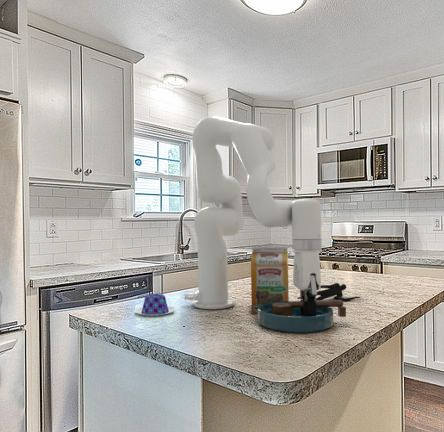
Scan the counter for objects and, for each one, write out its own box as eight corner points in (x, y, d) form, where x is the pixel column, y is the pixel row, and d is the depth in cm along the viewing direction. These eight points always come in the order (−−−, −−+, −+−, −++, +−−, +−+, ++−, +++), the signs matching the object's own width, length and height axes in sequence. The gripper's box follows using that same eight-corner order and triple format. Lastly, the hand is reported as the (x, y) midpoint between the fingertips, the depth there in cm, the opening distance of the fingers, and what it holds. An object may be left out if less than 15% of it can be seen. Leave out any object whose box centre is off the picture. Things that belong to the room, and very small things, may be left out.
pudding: (152, 319, 115) (152, 300, 115) (126, 313, 124) (126, 295, 124) (183, 312, 124) (183, 294, 124) (157, 306, 132) (157, 290, 132)
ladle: (274, 320, 106) (274, 303, 106) (270, 316, 111) (270, 300, 111) (348, 318, 107) (348, 301, 107) (341, 313, 112) (341, 298, 112)
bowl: (265, 334, 99) (265, 318, 99) (253, 315, 118) (252, 301, 118) (344, 332, 99) (344, 316, 99) (319, 314, 119) (318, 300, 119)
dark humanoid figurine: (313, 286, 125) (360, 273, 140) (292, 291, 131) (339, 278, 147) (321, 313, 123) (367, 297, 138) (299, 317, 130) (346, 301, 145)
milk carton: (288, 306, 130) (287, 246, 130) (288, 314, 119) (287, 248, 119) (255, 305, 132) (254, 246, 132) (251, 313, 121) (250, 248, 122)
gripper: (285, 244, 117) (287, 309, 117) (301, 248, 101) (302, 323, 101) (311, 243, 117) (313, 308, 117) (331, 247, 101) (332, 322, 101)
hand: (308, 315), depth 109 cm, fingers closed on ladle
